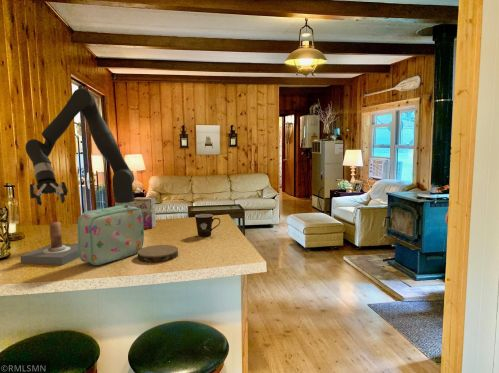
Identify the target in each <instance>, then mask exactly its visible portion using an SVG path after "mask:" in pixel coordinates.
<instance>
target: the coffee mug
mask: <svg viewBox="0 0 499 373" xmlns="http://www.w3.org/2000/svg"><path fill="white" fill-rule="evenodd" d="M213 216H214V215H213V214H209V213H201V214H195V216H194V217H195V224H196V230H197V231H196V232H197V237H199V238H207V237H208V236H209V237H211V236H212V232H213V230H214V229H216V228H217V227H218V226H219V225H221V219H220V218H218V217H214V218H213ZM214 220H218V221H219V222H218V224H217V225H215V226H214V227H213V222H214Z"/></svg>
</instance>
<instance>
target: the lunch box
mask: <svg viewBox="0 0 499 373" xmlns="http://www.w3.org/2000/svg"><path fill="white" fill-rule="evenodd" d="M144 229H145V228H144V218H143V212H142V210H141V209H139V208H136V207H131V206H128V204H122V205H119V206H115V205H114V206H109V207H106V208H99V209H93V210H92V209H91V210H87V211H84V212H83V213H81V215H79V218H78V219H77V244H78V254H79V260H81V262H83V263H84V262H85V263H89V264H91V265H93V266H102V265H104V264H107V263H110V262H114V261H116V260H117V261H118V260H123V259H125V258H127V257H130V256H133V255H136V254H138V253H137V252H138V250H140V249H142V248H143V246H144V236H145V235H144V234H145V233H144V232H145V230H144Z"/></svg>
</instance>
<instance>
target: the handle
mask: <svg viewBox="0 0 499 373" xmlns="http://www.w3.org/2000/svg"><path fill="white" fill-rule="evenodd" d="M49 235H50V244H51V246H49V247H48V251H49V252H57V251H62V250H65V249H66V245H63V244H64V243H63V238H62V224H61V221H53V222H49Z"/></svg>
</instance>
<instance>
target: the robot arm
mask: <svg viewBox="0 0 499 373" xmlns="http://www.w3.org/2000/svg"><path fill="white" fill-rule="evenodd" d="M79 113H82V115H83V116H84V119H85V120H86V122H87V126H88V129H89V133H90V135H91V138H92V140H93V143H94V144H95V147H96V148H97V149H98V151H99V153H100V154H101V155H102V157H103V158H104V159H105V160H106V161H107V163H109V166H110V168H111V170H112V172H113V174H112V178H111V179H112V194H113V198H114V206H119V205H122V204H128V206H131V207H135V205H134V198H135V195H134V192H133V191H134V190H133V189H134V188H133V183H134V181H135V176H134V173H133V172H132V170H131V168H130V167H129V164H127V162H126V161H125V159H124V157H123V155H122V151H121V150H120V148H119V145H118V143H117V141H116V139H115V136H114V135H113V133H112V131H111V130H110V127H109V126H108V124H107V122H106V121H105V119H104V118H103V116H102V115H101V113H100V110H99V108H98V105H97V102H96V99H95V96H94V95H93V93H92V92H91V91H89V90H88V89H86V88H78V89H76V90H73V92H72V95H71V96H70V97H69V100H68V101H67V102H66V104H65V105H64V107H63V108H62V109H61V111H60V112H58V114H57V115H56V116H55V118H54V119H53V120H52V121H51V122H50V123H49V124H48V125H47V126H46V127H45V129H44V130H42V132H41V136H42V137H43V139H45V140H44V143H43V142H41V141H40V140H38V139H37V138H31V139H29V140H27V142H26V143H25V148H24V150H25V152H26V154H27V155H28V157H29V159H30V161H31V162H32V167H33V169H34V170H33V172H34V173H33V174H34V178H35V181H36V185H33V184H31V183H30V184H29V196H30V199H36V204H37V205H38V206H42V198H41V197H42V196H43V194H44V195H48V194H55V195H57V196H59V199H60V203H61V204H64V203H65V202H66V198H65V196H67V195H68V192H69V191H68V187H67V185H66V183H65V181H62V182H61V183H58V182H57V180H56V175H55V173H54V169H53V167H52V163H51V161H50V158H49V156H50V155H51V153H52V151H53V148H54V146H56V145H55V144H57V141H58V140H59V139H60V138H61V136H63V134H65V132H66V131H67V130H68V128H69V126H70V124H71V123H72V122H73V120H74V119H75V118H76V116H77V115H78V114H79ZM36 190H38V191H37V193H35V191H36Z"/></svg>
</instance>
